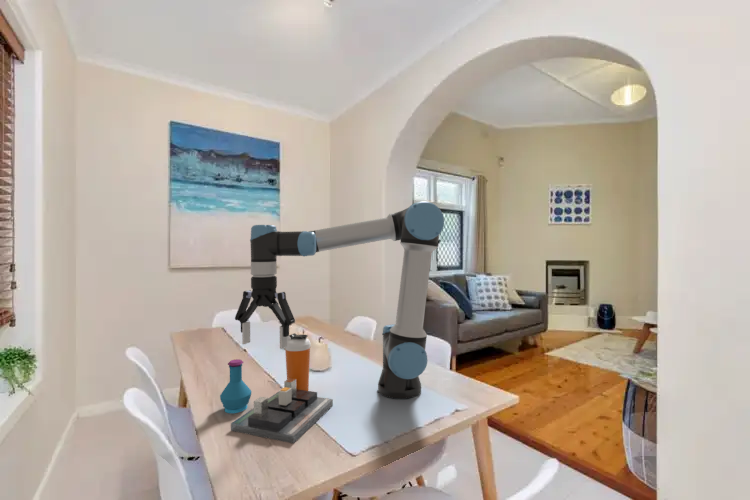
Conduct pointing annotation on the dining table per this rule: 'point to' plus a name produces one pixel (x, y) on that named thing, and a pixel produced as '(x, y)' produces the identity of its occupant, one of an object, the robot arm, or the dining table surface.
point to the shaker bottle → (298, 360)
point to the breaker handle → (285, 396)
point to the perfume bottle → (235, 390)
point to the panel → (288, 427)
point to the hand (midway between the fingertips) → (264, 345)
